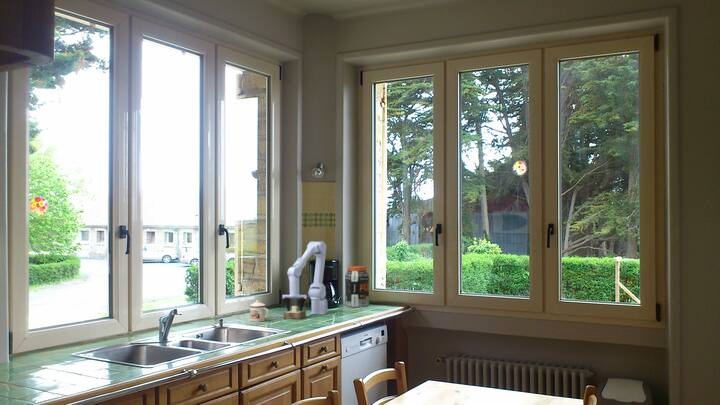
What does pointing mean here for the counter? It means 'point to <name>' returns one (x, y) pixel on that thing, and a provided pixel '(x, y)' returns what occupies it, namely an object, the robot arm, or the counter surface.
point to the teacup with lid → (258, 312)
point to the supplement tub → (357, 287)
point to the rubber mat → (277, 315)
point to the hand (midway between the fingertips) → (294, 310)
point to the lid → (294, 310)
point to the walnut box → (295, 315)
